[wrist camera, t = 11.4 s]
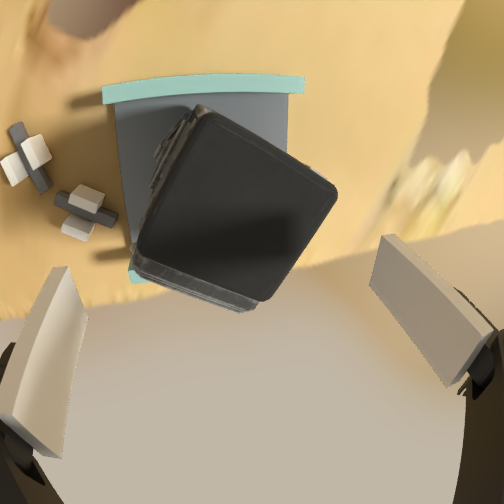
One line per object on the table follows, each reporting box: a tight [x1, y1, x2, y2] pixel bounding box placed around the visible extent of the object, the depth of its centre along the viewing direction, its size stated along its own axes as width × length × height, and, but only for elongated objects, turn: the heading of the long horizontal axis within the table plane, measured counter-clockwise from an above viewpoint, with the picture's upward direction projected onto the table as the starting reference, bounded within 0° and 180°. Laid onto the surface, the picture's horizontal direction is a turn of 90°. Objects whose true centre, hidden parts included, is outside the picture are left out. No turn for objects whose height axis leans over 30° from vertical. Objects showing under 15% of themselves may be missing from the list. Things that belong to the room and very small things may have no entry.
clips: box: [0, 134, 106, 242], centre depth 24 cm, size 13×5×3 cm, turn 40°
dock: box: [102, 74, 305, 284], centre depth 26 cm, size 18×16×5 cm
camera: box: [129, 104, 338, 313], centre depth 21 cm, size 10×10×15 cm
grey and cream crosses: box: [9, 122, 118, 229], centre depth 24 cm, size 16×4×1 cm, turn 39°
